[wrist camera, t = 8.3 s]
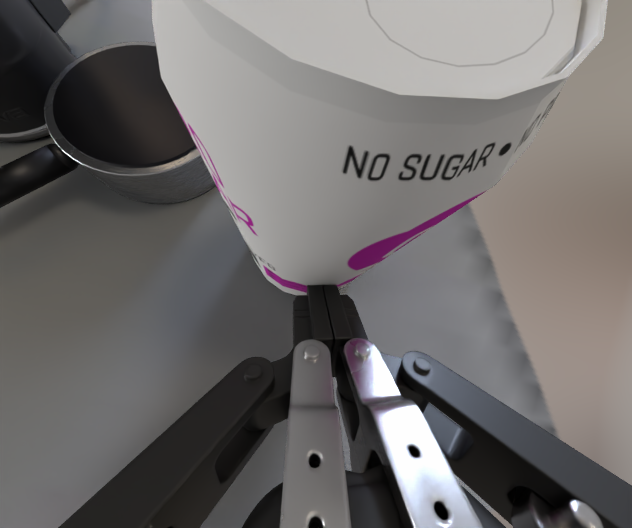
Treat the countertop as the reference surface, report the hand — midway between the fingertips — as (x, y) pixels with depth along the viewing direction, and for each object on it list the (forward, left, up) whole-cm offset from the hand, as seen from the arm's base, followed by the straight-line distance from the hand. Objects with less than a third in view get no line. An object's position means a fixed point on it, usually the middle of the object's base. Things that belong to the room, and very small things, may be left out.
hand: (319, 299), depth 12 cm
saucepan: (-13, -12, -5) cm, 19 cm away
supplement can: (-5, +1, -5) cm, 7 cm away
